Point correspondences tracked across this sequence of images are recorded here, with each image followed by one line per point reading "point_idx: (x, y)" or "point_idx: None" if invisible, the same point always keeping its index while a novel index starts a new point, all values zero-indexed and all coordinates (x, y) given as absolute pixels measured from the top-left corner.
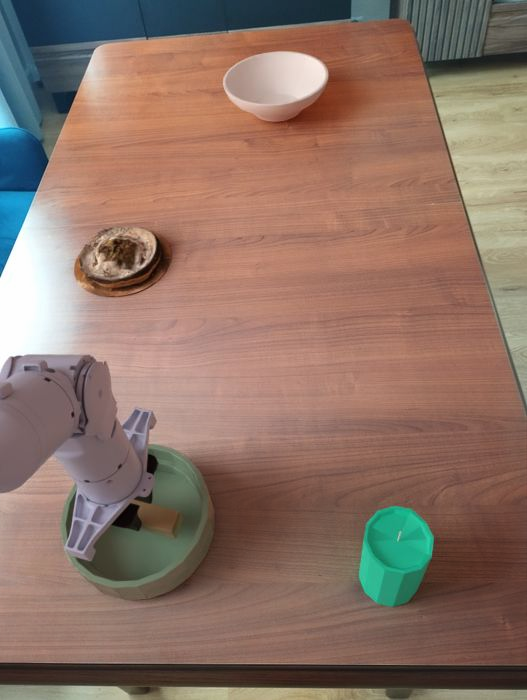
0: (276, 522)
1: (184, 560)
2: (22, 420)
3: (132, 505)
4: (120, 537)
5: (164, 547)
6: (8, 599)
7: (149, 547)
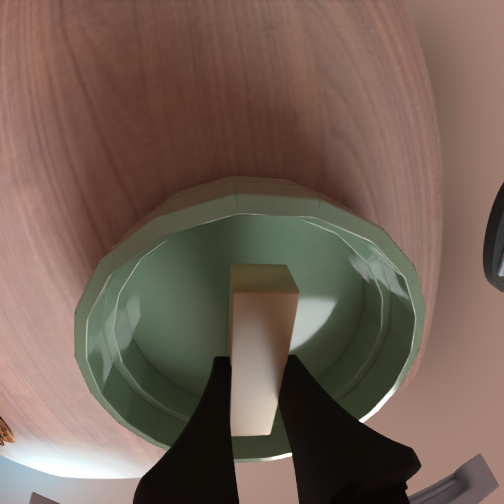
0: (169, 48)
1: (378, 226)
2: None
3: (354, 493)
4: None
5: None
6: None
7: None
